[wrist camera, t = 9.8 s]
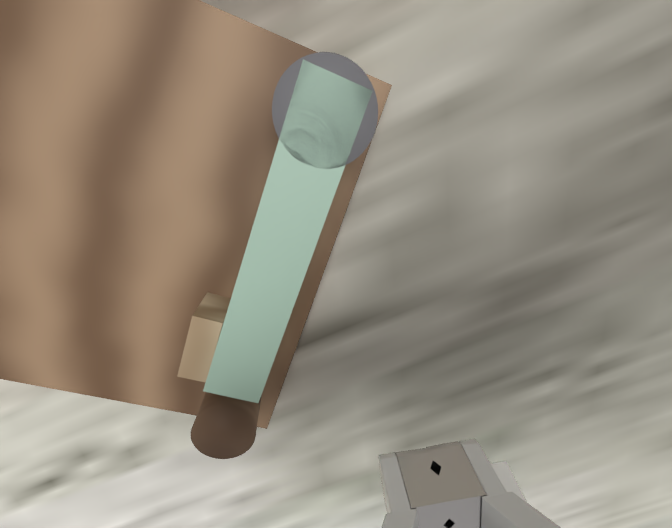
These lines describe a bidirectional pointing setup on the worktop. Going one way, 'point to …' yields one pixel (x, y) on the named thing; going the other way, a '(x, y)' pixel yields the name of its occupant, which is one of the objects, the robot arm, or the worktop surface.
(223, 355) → the hinged leg
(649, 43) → the worktop surface
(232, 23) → the stool seat
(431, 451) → the robot arm
